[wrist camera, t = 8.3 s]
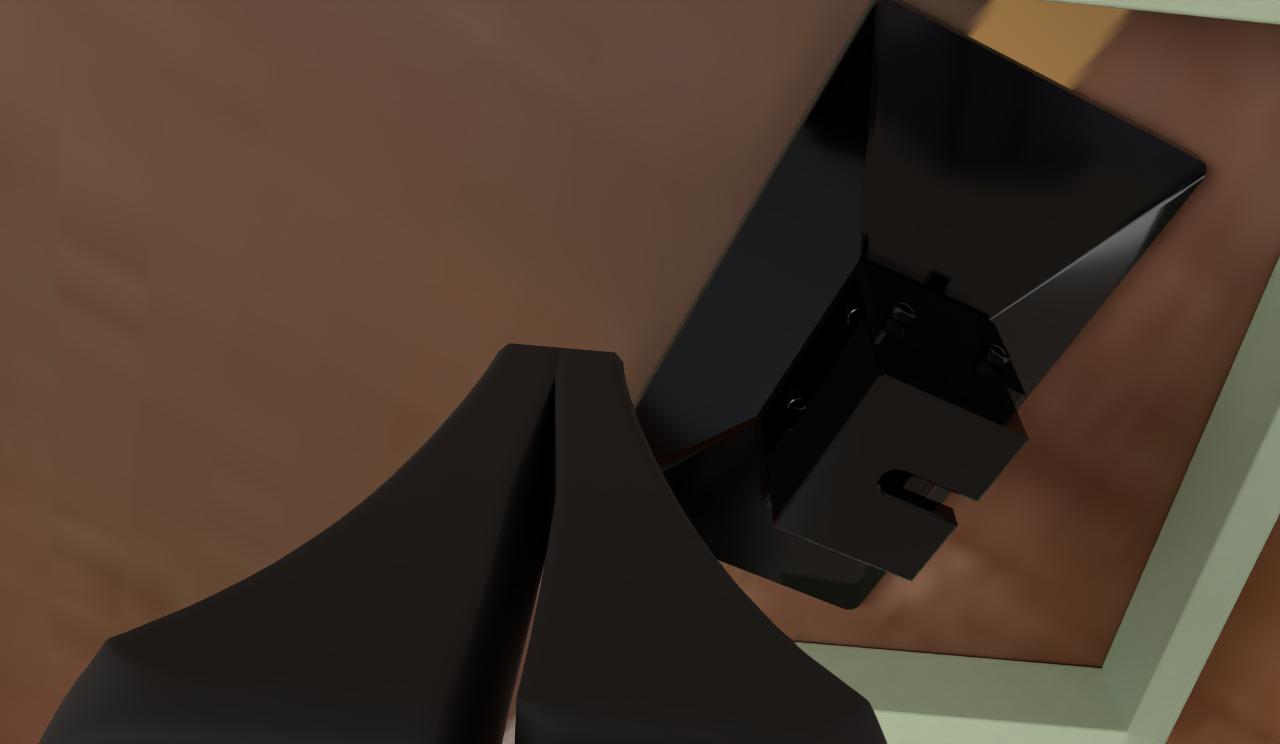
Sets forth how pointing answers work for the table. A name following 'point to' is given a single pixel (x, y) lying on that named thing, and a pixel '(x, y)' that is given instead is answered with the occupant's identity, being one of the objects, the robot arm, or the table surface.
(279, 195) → the table surface
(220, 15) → the table surface
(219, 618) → the robot arm
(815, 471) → the build plate
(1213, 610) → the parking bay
